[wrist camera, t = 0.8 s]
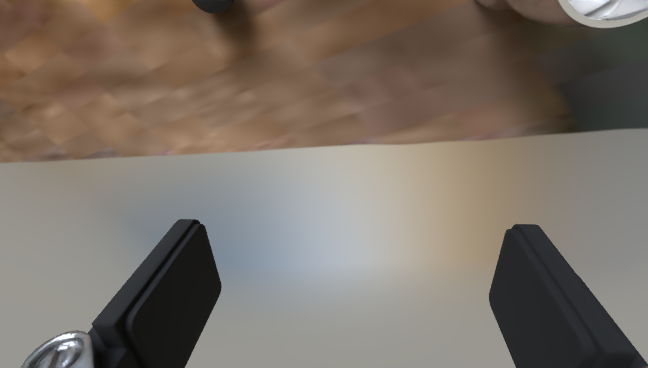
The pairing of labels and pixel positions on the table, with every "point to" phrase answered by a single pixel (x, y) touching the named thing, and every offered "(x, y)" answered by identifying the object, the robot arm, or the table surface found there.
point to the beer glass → (575, 11)
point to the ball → (213, 5)
